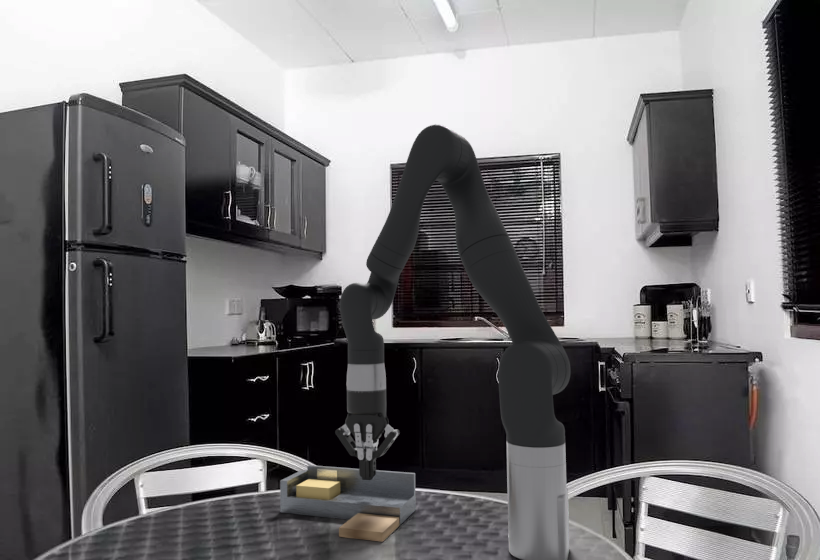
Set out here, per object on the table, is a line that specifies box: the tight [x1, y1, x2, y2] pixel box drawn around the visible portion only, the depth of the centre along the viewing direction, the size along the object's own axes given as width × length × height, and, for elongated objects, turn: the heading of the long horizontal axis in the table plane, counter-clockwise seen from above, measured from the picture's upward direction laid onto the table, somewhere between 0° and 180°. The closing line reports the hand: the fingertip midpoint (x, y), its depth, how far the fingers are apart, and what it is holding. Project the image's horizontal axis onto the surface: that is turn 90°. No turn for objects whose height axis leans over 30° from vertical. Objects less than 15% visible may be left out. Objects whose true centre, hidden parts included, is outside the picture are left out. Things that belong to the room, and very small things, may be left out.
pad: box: [338, 513, 400, 542], centre depth 106 cm, size 8×8×2 cm
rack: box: [279, 464, 417, 526], centre depth 117 cm, size 24×9×7 cm, turn 71°
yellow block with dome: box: [296, 479, 340, 500], centre depth 119 cm, size 5×5×8 cm
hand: (367, 479), depth 115 cm, fingers closed
